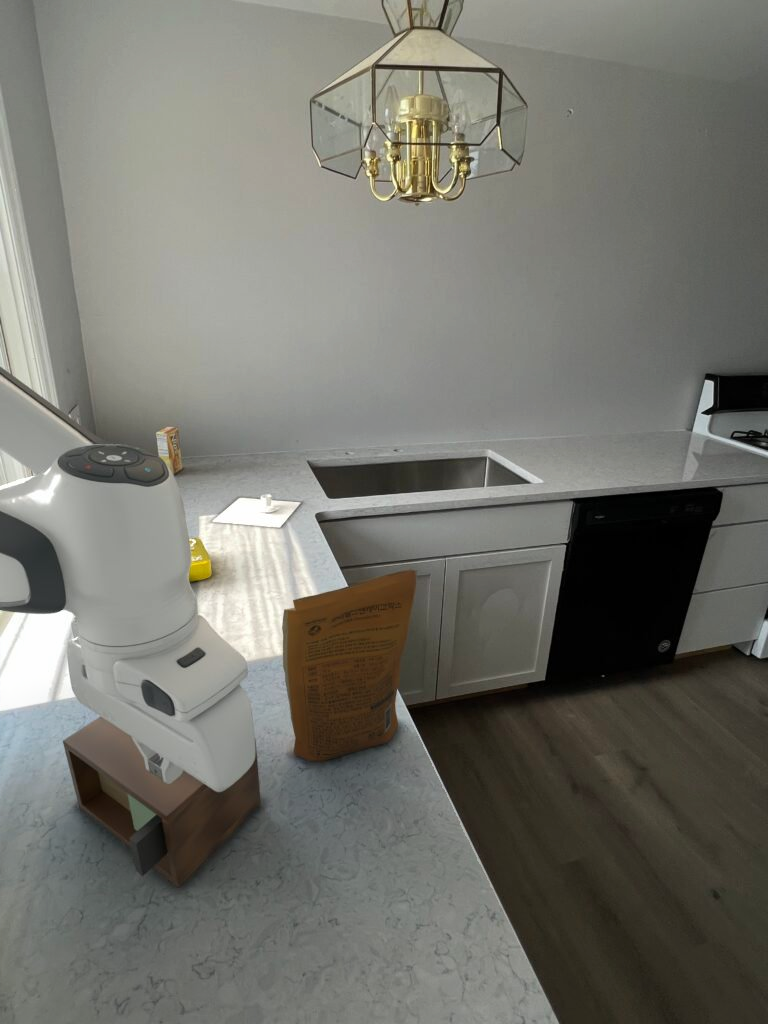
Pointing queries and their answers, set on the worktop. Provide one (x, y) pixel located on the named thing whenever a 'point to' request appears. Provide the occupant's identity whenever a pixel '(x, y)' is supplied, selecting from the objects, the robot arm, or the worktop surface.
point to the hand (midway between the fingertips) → (165, 772)
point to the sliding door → (146, 837)
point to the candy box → (170, 448)
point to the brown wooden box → (155, 797)
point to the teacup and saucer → (258, 512)
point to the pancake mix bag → (346, 664)
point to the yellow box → (199, 561)
